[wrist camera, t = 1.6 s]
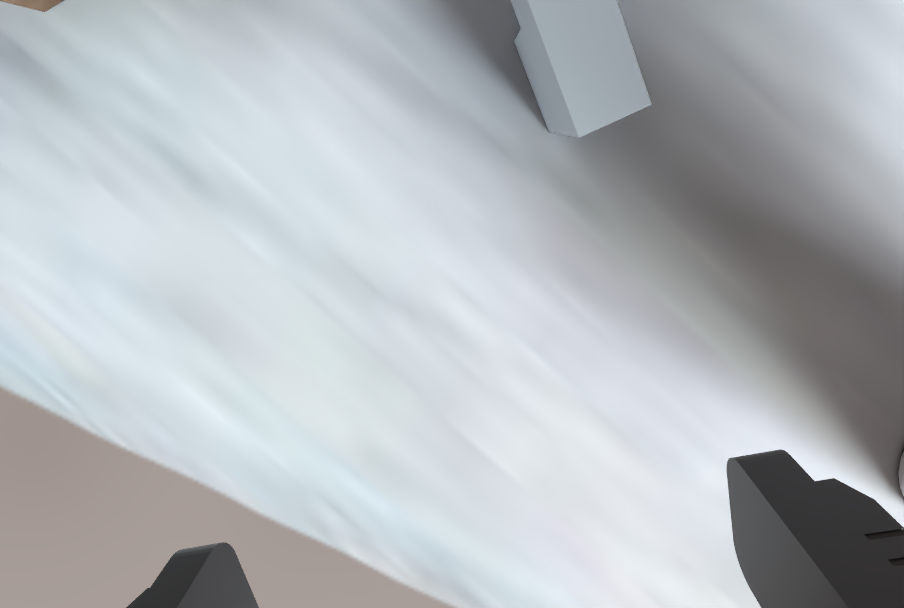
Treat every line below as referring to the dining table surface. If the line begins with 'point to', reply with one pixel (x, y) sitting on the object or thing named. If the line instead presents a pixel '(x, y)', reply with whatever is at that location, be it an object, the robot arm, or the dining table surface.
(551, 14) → the blue-grey plate
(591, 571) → the dining table surface
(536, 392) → the dining table surface
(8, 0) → the walnut stand
